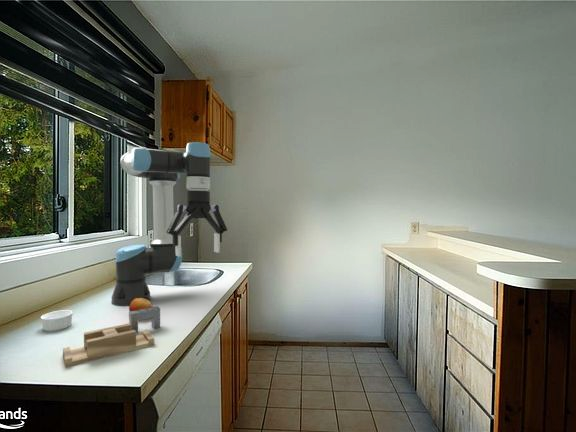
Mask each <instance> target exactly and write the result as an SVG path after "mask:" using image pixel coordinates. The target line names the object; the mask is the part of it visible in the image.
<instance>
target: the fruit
mask: <svg viewBox="0 0 576 432" xmlns="http://www.w3.org/2000/svg"><path fill="white" fill-rule="evenodd" d="M152 307H154V306H153V305H152V302H151V301H149V300H147V299H144V298H136V299H134V300H133V301H132V302H131V304H130V305H129V308H128V310H129V312H130V311H135V310H141V309H146V308H152Z"/></svg>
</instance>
